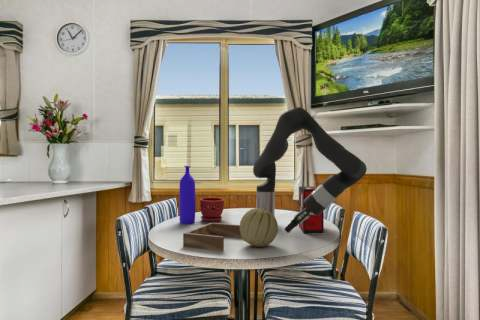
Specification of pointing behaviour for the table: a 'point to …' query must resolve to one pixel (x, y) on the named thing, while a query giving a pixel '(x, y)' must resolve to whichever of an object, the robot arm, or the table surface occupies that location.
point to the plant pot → (211, 209)
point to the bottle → (187, 198)
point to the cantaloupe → (258, 227)
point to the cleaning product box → (314, 221)
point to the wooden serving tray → (210, 236)
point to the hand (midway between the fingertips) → (286, 230)
